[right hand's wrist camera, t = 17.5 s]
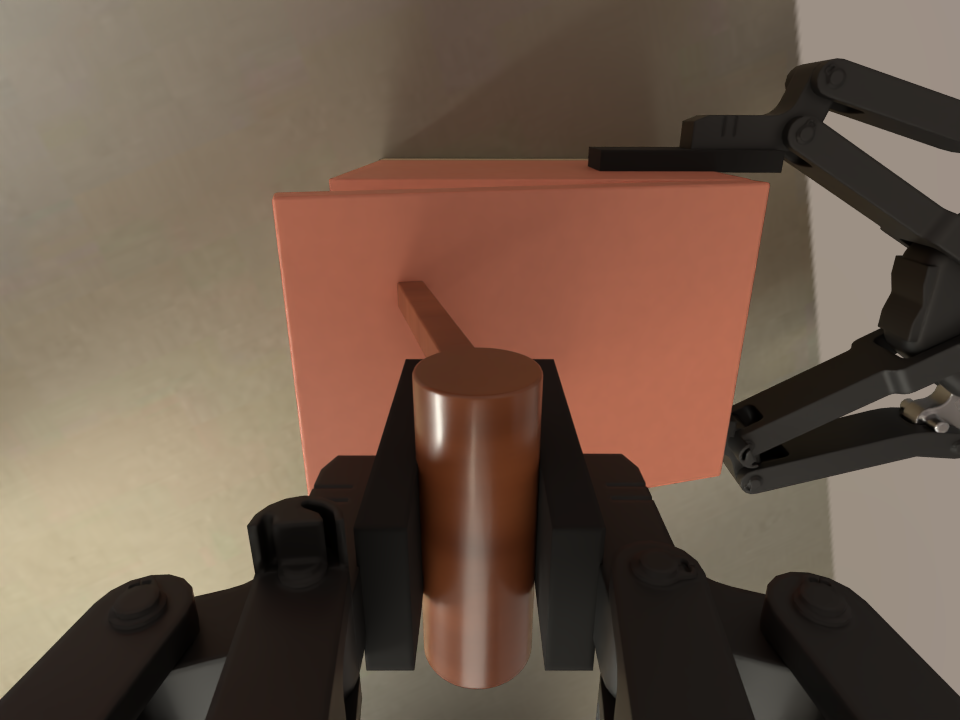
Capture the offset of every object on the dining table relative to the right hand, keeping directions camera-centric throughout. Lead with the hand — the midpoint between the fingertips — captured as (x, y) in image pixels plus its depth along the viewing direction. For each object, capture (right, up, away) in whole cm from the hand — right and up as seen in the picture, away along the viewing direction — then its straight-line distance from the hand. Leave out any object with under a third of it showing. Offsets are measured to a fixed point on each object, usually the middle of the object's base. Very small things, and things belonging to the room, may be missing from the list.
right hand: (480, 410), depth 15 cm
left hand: (+4, +4, +10) cm, 11 cm away
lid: (+2, +1, +4) cm, 4 cm away
